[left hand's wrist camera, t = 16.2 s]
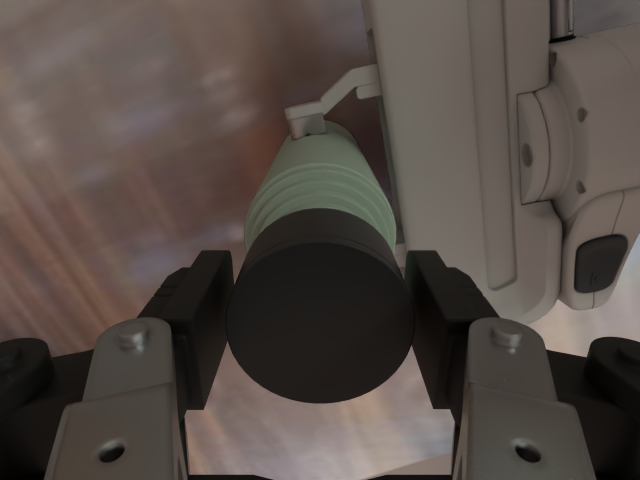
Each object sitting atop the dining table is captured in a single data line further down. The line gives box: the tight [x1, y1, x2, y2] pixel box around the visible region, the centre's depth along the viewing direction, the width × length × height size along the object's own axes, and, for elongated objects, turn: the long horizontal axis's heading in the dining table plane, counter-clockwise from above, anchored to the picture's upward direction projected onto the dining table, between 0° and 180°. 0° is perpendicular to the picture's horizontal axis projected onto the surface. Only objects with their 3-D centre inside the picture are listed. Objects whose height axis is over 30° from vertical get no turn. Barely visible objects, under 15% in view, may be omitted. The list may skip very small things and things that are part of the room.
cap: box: [225, 208, 415, 403], centre depth 11 cm, size 4×4×2 cm
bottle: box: [244, 120, 396, 254], centre depth 19 cm, size 5×5×19 cm
